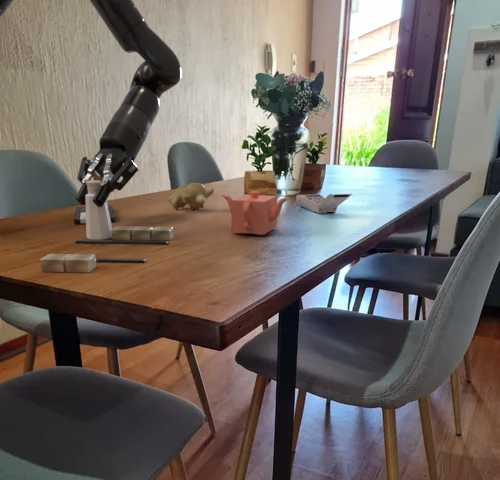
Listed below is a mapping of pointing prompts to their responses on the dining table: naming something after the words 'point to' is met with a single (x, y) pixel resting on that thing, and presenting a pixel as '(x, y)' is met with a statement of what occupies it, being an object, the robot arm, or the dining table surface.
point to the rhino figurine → (190, 196)
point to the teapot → (254, 213)
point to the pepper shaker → (96, 215)
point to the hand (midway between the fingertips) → (88, 203)
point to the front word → (77, 262)
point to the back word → (136, 235)
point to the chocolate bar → (81, 215)
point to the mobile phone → (321, 202)
